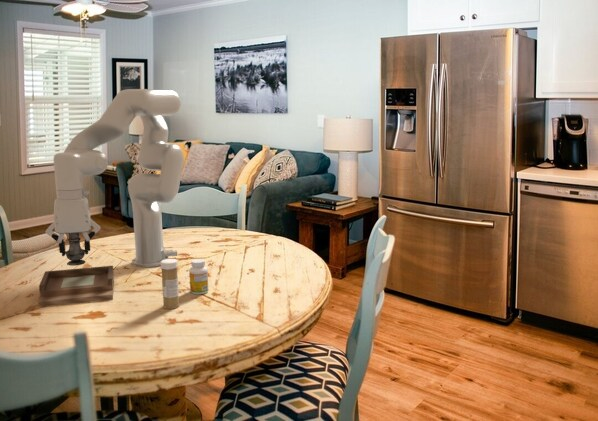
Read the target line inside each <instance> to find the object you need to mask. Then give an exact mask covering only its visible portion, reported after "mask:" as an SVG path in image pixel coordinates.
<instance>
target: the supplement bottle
mask: <svg viewBox="0 0 598 421" xmlns="http://www.w3.org/2000/svg"><path fill="white" fill-rule="evenodd" d="M190 262H191V267H190V269H189V288H190V289H189V291H190V293H191V294H193V295H203V294H207V293H208V292H209V274H208V273H209V271H208V267H206V261H205V259H203V258H195V259H192V260H191V261H190Z"/></svg>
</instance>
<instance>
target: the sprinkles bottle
mask: <svg viewBox="0 0 598 421" xmlns="http://www.w3.org/2000/svg"><path fill="white" fill-rule="evenodd" d="M178 264H179V263H178V260H177V259H175V258H169V259H165V260H162V261H161V265H160V269H161V283H162V285H161V286H162V287H161V288H162V301H163V306H162V307H163V308H164V309H167V310H169V309H177V308H178V307H179V306H180V303H179V302H180V301H179V300H180V299H179V294H180V293H179V277H178Z"/></svg>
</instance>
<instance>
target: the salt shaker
mask: <svg viewBox="0 0 598 421" xmlns="http://www.w3.org/2000/svg"><path fill="white" fill-rule="evenodd" d="M80 240H81V237H80V233H68V239H67V241H68V245H69V247H68V250H65V256H66V258H67V259H68V260H69V261H68V262H66V265H67V266H73V267H74V266H82V265H85V264H86V261H85V260H84V259H83V258H84V257H85V255H86V254H85V248H84V249H83V248H82V246H81V241H80Z"/></svg>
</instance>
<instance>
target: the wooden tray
mask: <svg viewBox="0 0 598 421" xmlns="http://www.w3.org/2000/svg"><path fill="white" fill-rule="evenodd" d="M114 275H115V274H114V266H113V265H105V266H103V265H102V266H95V267H94V266H93V267H92V266H91V267H82V268H81V267H80V268H71V269H70V268H69V269H68V268H67V269H57V270H46V271H44V273H43V276H42V278H41V280H40V282H39V285H38V287H39V288H38V289H39V299H38V301H37V302H38V307H39V308H42V307H51V306H60V305H61V306H62V305H63V306H64V305H70V304H71V305H72V304H80V303H81V304H83V303H90V302H99V301H100V302H101V301H110V300H114V288H115V287H114V286H115V285H114V284H115V278H114Z"/></svg>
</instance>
